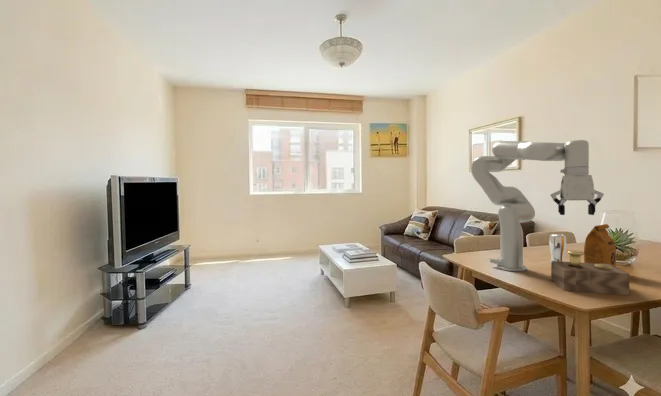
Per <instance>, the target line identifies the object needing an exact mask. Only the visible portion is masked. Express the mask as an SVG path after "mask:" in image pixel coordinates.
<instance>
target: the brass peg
mask: <svg viewBox="0 0 661 396" xmlns="http://www.w3.org/2000/svg"><path fill="white" fill-rule="evenodd" d="M566 253H567V255H569V262H570V267H574V268H581V263H582V262H581V260H582V259H581V258H582V256H584V251H581V250H580V251H579V250H572V249H571V250H567V251H566Z"/></svg>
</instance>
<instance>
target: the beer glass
mask: <svg viewBox="0 0 661 396" xmlns="http://www.w3.org/2000/svg"><path fill="white" fill-rule="evenodd" d="M548 245H549V251H550V262H549V264H550V265H551V261H559V262H565V254H566V250H567V236H566V234H559V233H551V234H549V238H548Z"/></svg>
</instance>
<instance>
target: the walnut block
mask: <svg viewBox="0 0 661 396" xmlns="http://www.w3.org/2000/svg"><path fill="white" fill-rule="evenodd" d="M550 261H551V260H550ZM550 265H551V266H550V267H551V269H550V271H551V272H550V274H551V275H550V276H551V277H550V278H551V279H550V280H551V281H552V282H553V283H554V284H556V285H557V286H558V287H559V288H560V289H562V290H563V291H569V292H581V293H582V292H583V293H593V294H594V293H595V294H607V295H608V294H609V295H619V296H620V295H621V296H630V273H628V272H627V271H625V270H622V269H621V268H618V267H617V266H616V267H614V266H612V265H610V264H598V263H584V262H581V268H574V267H570V261H564V262H559V261H551V264H550Z"/></svg>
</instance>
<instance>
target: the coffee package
mask: <svg viewBox="0 0 661 396" xmlns="http://www.w3.org/2000/svg"><path fill="white" fill-rule="evenodd" d="M607 229H610V225H609V224H608V223H605V224H599V225H594V226H593V228H592V229H591V230H590V232H589V233H588V234H587V236H586V237H585V240H584V248H583V252H584V255H583V263H598V264H610V265H612V266H614V267H616V268H617V246H616V243H615V242H614V240H613V238H612V237H611V235H609V232H608V230H607Z"/></svg>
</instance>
